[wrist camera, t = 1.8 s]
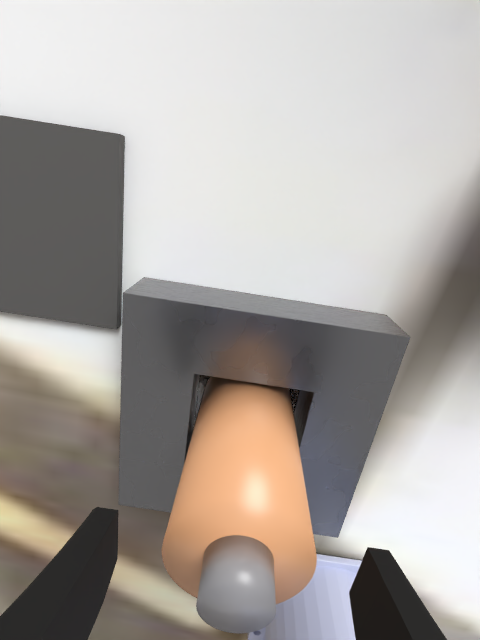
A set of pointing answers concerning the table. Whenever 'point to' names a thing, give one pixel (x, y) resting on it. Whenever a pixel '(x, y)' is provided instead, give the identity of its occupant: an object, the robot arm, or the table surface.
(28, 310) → the mat
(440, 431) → the table surface
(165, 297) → the housing
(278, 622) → the robot arm
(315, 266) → the table surface
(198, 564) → the tapered peach cylinder
